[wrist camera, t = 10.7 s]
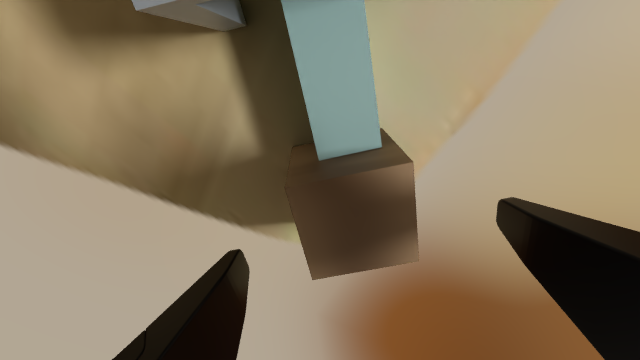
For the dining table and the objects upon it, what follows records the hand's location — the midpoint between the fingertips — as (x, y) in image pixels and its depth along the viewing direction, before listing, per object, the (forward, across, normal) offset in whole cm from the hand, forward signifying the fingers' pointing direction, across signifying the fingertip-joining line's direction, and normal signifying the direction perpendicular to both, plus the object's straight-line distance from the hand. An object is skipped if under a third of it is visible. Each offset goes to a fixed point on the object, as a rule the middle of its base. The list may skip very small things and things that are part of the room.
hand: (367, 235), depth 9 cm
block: (+5, 0, 0) cm, 5 cm away
